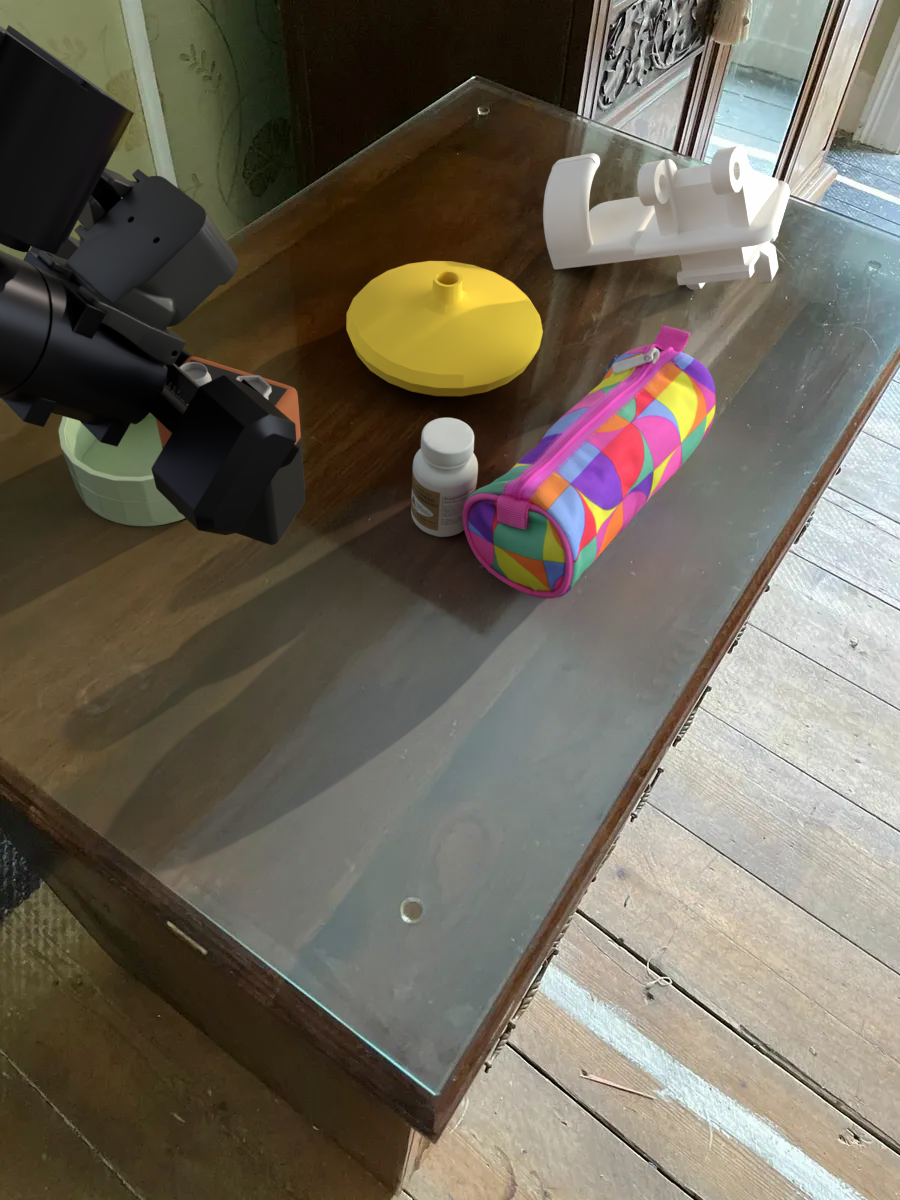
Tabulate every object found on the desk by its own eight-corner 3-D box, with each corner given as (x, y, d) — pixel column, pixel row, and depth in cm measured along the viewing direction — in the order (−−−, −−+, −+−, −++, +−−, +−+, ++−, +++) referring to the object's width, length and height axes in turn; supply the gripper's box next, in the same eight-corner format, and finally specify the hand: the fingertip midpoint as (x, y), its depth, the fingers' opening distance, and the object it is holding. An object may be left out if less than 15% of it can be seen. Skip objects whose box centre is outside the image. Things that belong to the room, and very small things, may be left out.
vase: (420, 272, 85) (423, 198, 79) (572, 343, 80) (587, 269, 75) (307, 362, 77) (301, 287, 71) (469, 447, 72) (477, 373, 66)
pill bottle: (401, 502, 68) (403, 421, 62) (456, 486, 69) (463, 405, 63) (426, 546, 66) (430, 466, 60) (482, 528, 67) (493, 448, 61)
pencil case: (601, 398, 76) (625, 302, 69) (708, 449, 73) (743, 355, 66) (447, 566, 65) (455, 472, 58) (565, 634, 62) (590, 544, 55)
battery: (276, 551, 56) (260, 422, 48) (174, 515, 57) (142, 384, 49) (309, 501, 59) (299, 372, 51) (210, 468, 60) (186, 337, 52)
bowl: (85, 541, 64) (68, 495, 61) (68, 434, 70) (51, 386, 67) (244, 508, 67) (237, 462, 63) (214, 407, 73) (206, 360, 69)
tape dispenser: (564, 328, 89) (522, 191, 82) (612, 269, 95) (577, 137, 88) (778, 312, 77) (752, 150, 70) (817, 246, 84) (798, 90, 76)
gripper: (236, 261, 34) (444, 380, 48) (-17, 63, 41) (225, 215, 55) (88, 516, 36) (325, 559, 50) (-125, 286, 44) (132, 377, 58)
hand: (250, 416), depth 53 cm, fingers closed on battery, 7 cm apart
